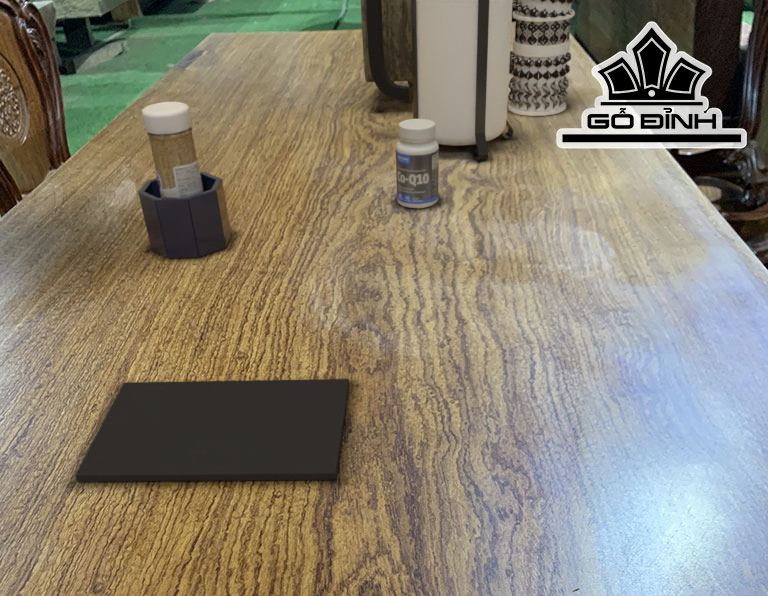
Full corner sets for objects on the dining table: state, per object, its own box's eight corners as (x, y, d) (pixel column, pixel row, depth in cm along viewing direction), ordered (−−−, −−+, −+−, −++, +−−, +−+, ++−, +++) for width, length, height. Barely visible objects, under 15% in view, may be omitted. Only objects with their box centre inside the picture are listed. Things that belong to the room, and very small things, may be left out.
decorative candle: (550, 120, 116) (568, -102, 99) (493, 111, 120) (501, -103, 104) (580, 104, 121) (602, -109, 105) (524, 96, 125) (537, -110, 109)
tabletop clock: (376, 89, 132) (367, -105, 116) (432, 88, 131) (432, -108, 115) (366, 115, 121) (355, -95, 105) (428, 114, 120) (426, -99, 104)
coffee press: (490, 120, 117) (500, -152, 97) (534, 154, 105) (556, -148, 85) (371, 136, 114) (356, -142, 94) (403, 172, 102) (394, -136, 82)
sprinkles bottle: (163, 241, 89) (133, 106, 80) (202, 230, 90) (176, 97, 82) (181, 254, 86) (152, 116, 77) (220, 243, 88) (196, 106, 79)
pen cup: (145, 259, 85) (131, 200, 81) (164, 228, 91) (152, 173, 87) (221, 257, 85) (211, 198, 81) (235, 226, 91) (226, 170, 87)
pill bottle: (392, 207, 93) (389, 128, 88) (403, 192, 97) (401, 116, 91) (432, 210, 92) (432, 130, 86) (443, 195, 95) (443, 117, 90)
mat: (77, 482, 57) (74, 475, 57) (125, 388, 66) (123, 382, 66) (336, 480, 56) (335, 473, 56) (349, 385, 65) (348, 378, 65)
